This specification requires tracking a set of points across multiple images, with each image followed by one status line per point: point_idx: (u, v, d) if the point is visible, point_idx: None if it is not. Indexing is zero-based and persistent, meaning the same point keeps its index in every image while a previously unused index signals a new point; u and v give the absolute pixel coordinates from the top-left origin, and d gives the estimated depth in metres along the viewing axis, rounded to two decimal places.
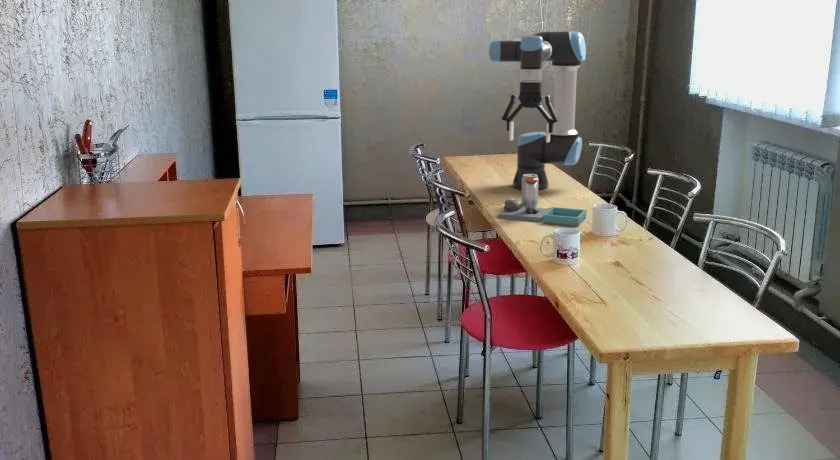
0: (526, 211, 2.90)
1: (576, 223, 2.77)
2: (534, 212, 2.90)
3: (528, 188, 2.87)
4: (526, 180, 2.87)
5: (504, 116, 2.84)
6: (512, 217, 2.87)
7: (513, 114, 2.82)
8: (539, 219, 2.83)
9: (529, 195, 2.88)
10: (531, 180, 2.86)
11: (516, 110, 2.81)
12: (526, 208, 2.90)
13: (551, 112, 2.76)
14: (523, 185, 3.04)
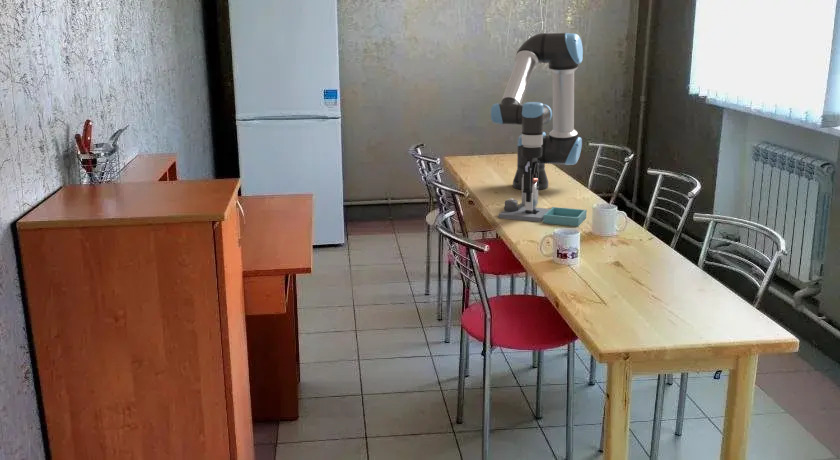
0: (526, 210, 2.90)
1: (576, 223, 2.77)
2: (534, 212, 2.90)
3: None
4: None
5: None
6: (512, 217, 2.87)
7: None
8: (539, 219, 2.83)
9: None
10: None
11: None
12: None
13: None
14: (523, 185, 3.04)
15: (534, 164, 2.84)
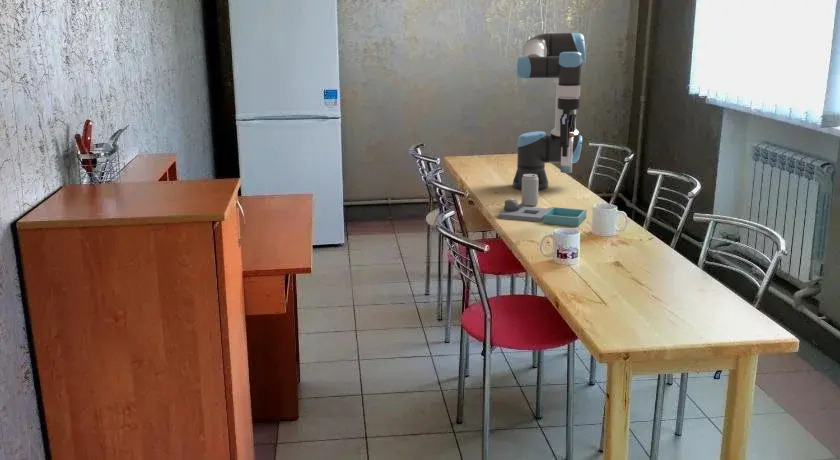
0: (562, 166, 2.78)
1: (576, 223, 2.77)
2: (570, 168, 2.78)
3: None
4: None
5: None
6: (512, 217, 2.87)
7: None
8: (539, 219, 2.83)
9: None
10: None
11: None
12: None
13: None
14: (523, 185, 3.04)
15: (571, 117, 2.72)
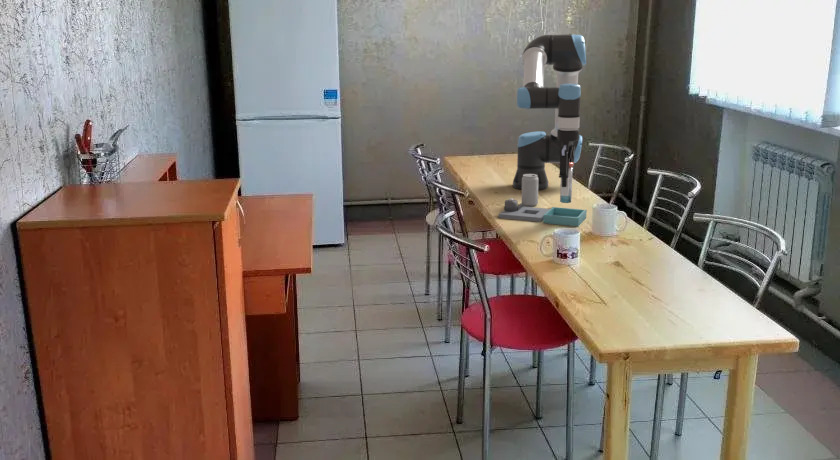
0: (561, 196, 2.81)
1: (576, 223, 2.77)
2: (570, 198, 2.81)
3: None
4: None
5: None
6: (512, 217, 2.87)
7: None
8: (539, 219, 2.83)
9: None
10: None
11: None
12: None
13: None
14: (523, 185, 3.04)
15: (570, 148, 2.75)
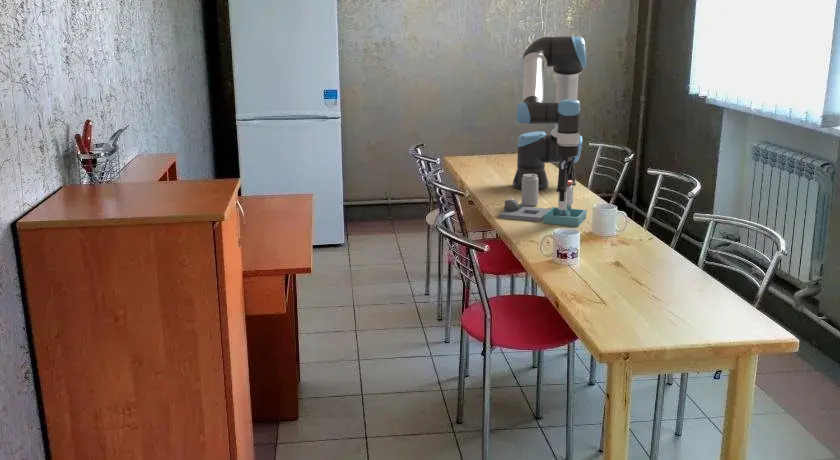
0: (561, 214, 2.83)
1: (576, 223, 2.77)
2: (569, 215, 2.83)
3: None
4: None
5: None
6: (512, 217, 2.87)
7: None
8: (539, 219, 2.83)
9: None
10: (567, 182, 2.79)
11: None
12: (561, 211, 2.83)
13: None
14: (523, 185, 3.04)
15: (570, 163, 2.77)
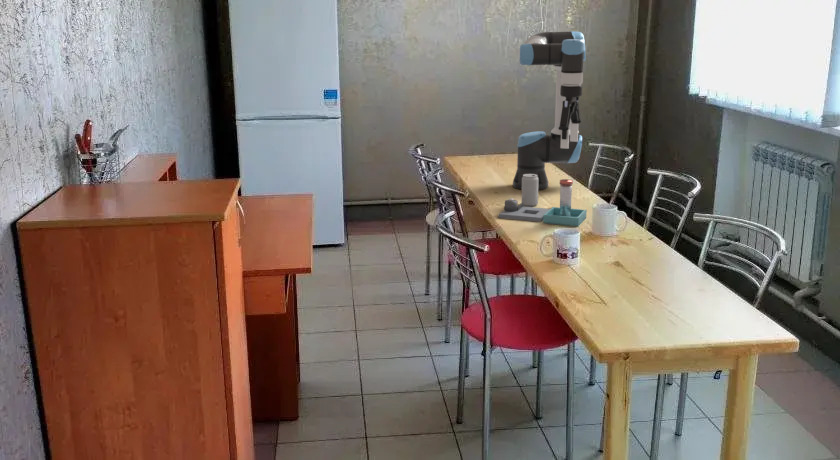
0: (561, 214, 2.83)
1: (576, 223, 2.77)
2: (569, 215, 2.83)
3: (564, 190, 2.80)
4: (561, 182, 2.80)
5: None
6: (512, 217, 2.87)
7: None
8: (539, 219, 2.83)
9: (564, 197, 2.81)
10: (566, 182, 2.79)
11: None
12: (561, 211, 2.83)
13: None
14: (523, 185, 3.04)
15: (574, 103, 2.75)
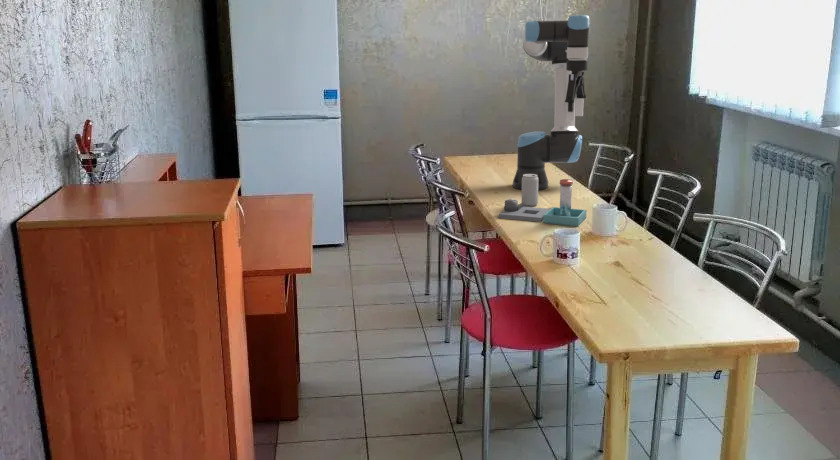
0: (561, 214, 2.83)
1: (576, 223, 2.77)
2: (569, 215, 2.83)
3: (564, 190, 2.80)
4: (561, 182, 2.80)
5: None
6: (512, 217, 2.87)
7: None
8: (539, 219, 2.83)
9: (564, 197, 2.81)
10: (566, 182, 2.79)
11: None
12: (561, 211, 2.83)
13: None
14: (523, 185, 3.04)
15: (579, 77, 2.84)
